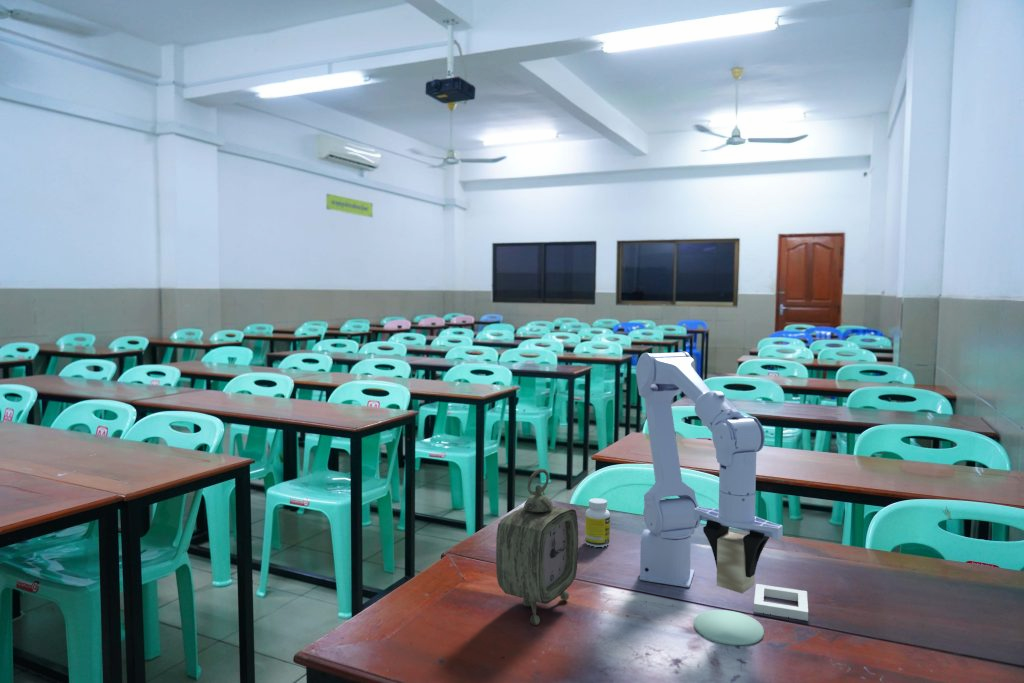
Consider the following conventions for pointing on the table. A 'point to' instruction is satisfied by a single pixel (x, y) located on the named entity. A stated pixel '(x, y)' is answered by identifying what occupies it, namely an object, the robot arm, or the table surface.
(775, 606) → the frame
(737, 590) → the maple block
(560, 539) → the tabletop clock
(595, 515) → the supplement bottle
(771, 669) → the table surface
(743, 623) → the coaster
